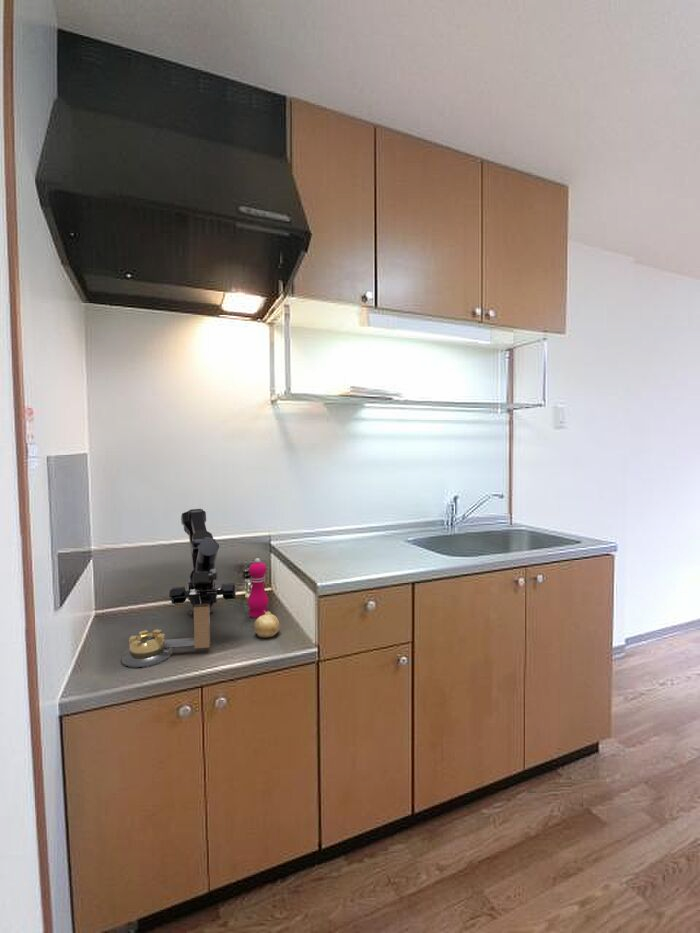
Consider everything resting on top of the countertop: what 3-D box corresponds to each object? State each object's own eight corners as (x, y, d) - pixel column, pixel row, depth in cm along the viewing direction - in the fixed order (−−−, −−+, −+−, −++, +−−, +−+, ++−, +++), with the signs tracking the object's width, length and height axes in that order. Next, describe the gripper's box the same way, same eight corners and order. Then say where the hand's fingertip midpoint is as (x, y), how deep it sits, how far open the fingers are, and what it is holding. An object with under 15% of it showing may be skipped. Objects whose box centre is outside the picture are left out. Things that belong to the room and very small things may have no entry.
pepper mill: (263, 619, 150) (263, 561, 148) (244, 617, 151) (243, 560, 150) (271, 610, 157) (271, 556, 156) (253, 609, 158) (252, 555, 157)
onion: (284, 635, 138) (284, 613, 137) (262, 643, 132) (262, 620, 132) (270, 627, 144) (270, 606, 143) (249, 634, 138) (248, 612, 138)
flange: (116, 655, 125) (116, 649, 125) (163, 641, 134) (163, 636, 134) (129, 673, 115) (129, 667, 115) (179, 657, 124) (179, 651, 124)
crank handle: (125, 659, 119) (123, 616, 118) (135, 643, 128) (134, 603, 127) (207, 652, 123) (206, 611, 122) (212, 638, 132) (211, 599, 131)
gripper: (169, 561, 130) (162, 612, 120) (234, 557, 134) (233, 606, 124) (175, 579, 138) (169, 627, 128) (236, 574, 142) (235, 621, 132)
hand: (201, 620), depth 128 cm, fingers closed
